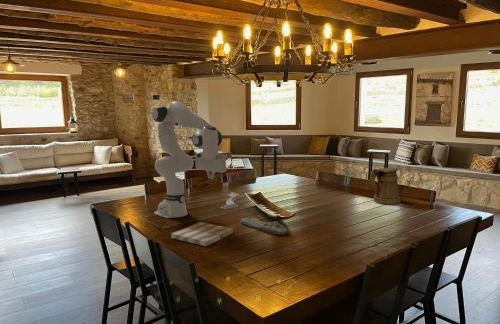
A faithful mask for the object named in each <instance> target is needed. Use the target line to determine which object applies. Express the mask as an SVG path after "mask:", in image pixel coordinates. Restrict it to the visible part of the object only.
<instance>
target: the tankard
mask: <svg viewBox="0 0 500 324" xmlns="http://www.w3.org/2000/svg"><path fill="white" fill-rule="evenodd" d="M397 172H398V167H382V168H378V169H377V168H372V170H371V172H370V175H369V182H370V185H371V187H372V188H373V190H374V193H375V194H374V196H373V201H374V202H375V203H376V204H380V205H386V206H389V205H392V206H393V205H398V204H400V203H401V202H402V201H401V196H400V195H399V194H400V193H399V185H398V184H399V183H398V180H399V177H398V176H399V175H398V174H397ZM375 179H376V180H377V182H375V181H376V180H375Z"/></svg>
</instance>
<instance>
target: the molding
mask: <svg viewBox="0 0 500 324" xmlns="http://www.w3.org/2000/svg"><path fill="white" fill-rule="evenodd" d="M227 196H228V197H229V198H227V200H226V202H225V205H222V206H220V207H219V208H220V209H223V210H224V211H225V210H226V211H227V210H229V209H234V208H239V204H236V203H235V201H236V200H238V199H241V198H243V196H242V195H241V194H239V193H235V192H230V194H228V195H227Z"/></svg>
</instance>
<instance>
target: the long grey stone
mask: <svg viewBox="0 0 500 324" xmlns="http://www.w3.org/2000/svg"><path fill="white" fill-rule="evenodd" d="M241 224H242V225H244V226H246V227H248V228H252V229H255V230H258V231H259V230H260V231H263V232H264V233H269V234H271V235H279V236H280V235H281V236H284V235H287V234H288V229H287V227H285V226H284V224H281V223H279V221H268V222H266V221H262V220H259V219H254V218H251V217H242V218H241V219H240V225H241Z"/></svg>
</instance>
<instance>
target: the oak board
mask: <svg viewBox="0 0 500 324" xmlns="http://www.w3.org/2000/svg"><path fill="white" fill-rule="evenodd" d="M185 228H189V229H194V230H199V231H203V232H208V233H212V234H217V235H220V240H222V239H224V238H226V237H228V236H230V235H231V234H233V233H234V228H232V227H227V226H222V225H219V224H212V223H207V222H202V221H198V222H196V223H194V224H191V225H189V226H187V227H185Z"/></svg>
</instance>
